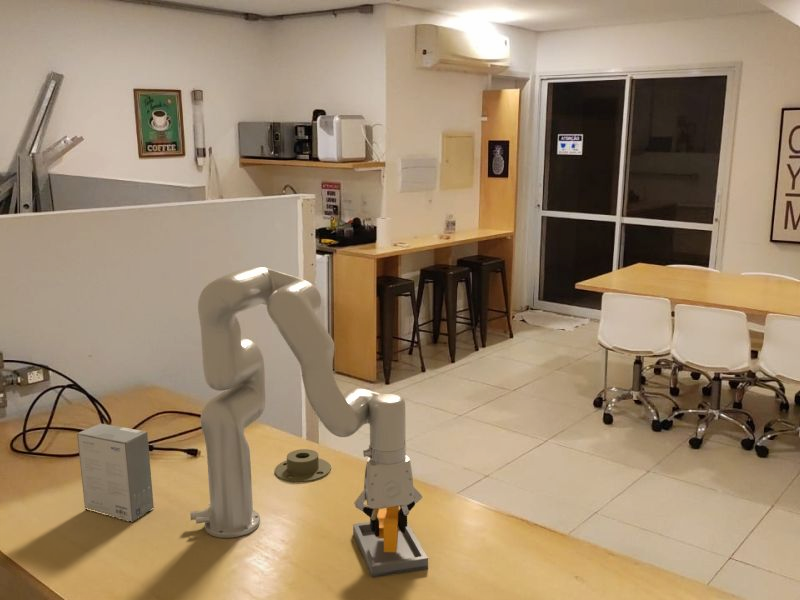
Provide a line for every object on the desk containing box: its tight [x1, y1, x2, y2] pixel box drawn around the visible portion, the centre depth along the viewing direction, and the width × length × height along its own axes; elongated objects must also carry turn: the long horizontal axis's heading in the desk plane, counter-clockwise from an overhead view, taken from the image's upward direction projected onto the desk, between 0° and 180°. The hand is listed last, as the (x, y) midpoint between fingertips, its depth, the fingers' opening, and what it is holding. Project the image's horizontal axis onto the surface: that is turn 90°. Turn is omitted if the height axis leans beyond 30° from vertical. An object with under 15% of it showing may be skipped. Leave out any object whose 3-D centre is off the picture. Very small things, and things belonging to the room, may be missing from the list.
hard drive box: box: [76, 423, 155, 523], centre depth 179 cm, size 16×8×20 cm, turn 65°
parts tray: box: [352, 521, 429, 579], centre depth 162 cm, size 12×18×2 cm, turn 15°
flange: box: [274, 448, 332, 483], centre depth 202 cm, size 5×15×15 cm
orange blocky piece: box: [377, 506, 400, 552], centre depth 161 cm, size 12×4×6 cm, turn 177°
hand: (388, 531), depth 162 cm, fingers closed on orange blocky piece, 5 cm apart
